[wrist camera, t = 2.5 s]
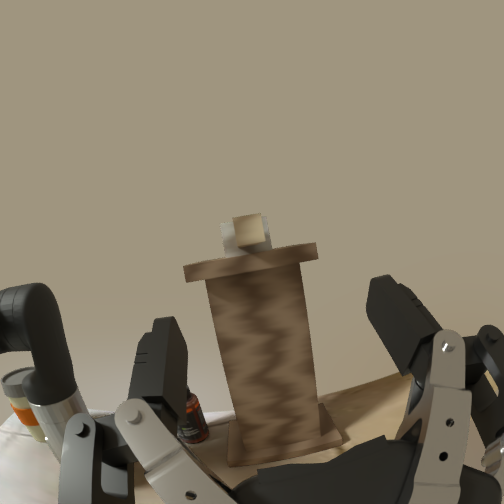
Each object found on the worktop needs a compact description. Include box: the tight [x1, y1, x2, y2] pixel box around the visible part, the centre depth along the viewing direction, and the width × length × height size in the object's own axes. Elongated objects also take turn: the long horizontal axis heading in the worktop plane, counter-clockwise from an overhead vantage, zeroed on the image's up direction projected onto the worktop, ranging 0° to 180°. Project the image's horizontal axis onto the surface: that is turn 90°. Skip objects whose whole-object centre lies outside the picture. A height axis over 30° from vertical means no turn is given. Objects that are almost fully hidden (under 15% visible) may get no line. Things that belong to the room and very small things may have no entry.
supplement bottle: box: [177, 385, 209, 443], centre depth 41 cm, size 6×6×11 cm
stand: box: [183, 243, 342, 467], centre depth 38 cm, size 18×12×32 cm, turn 93°
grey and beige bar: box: [220, 213, 272, 258], centre depth 32 cm, size 6×19×4 cm, turn 3°
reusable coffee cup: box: [1, 367, 46, 442], centre depth 36 cm, size 13×13×15 cm
